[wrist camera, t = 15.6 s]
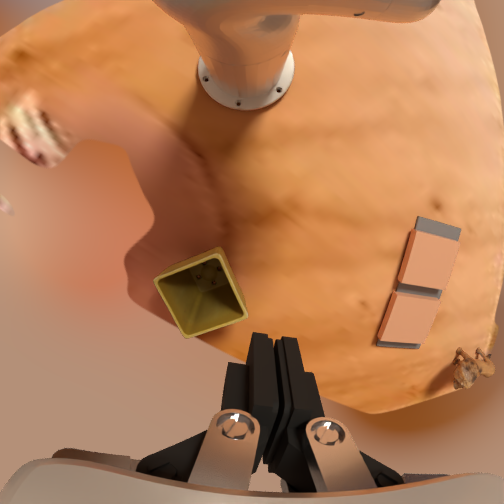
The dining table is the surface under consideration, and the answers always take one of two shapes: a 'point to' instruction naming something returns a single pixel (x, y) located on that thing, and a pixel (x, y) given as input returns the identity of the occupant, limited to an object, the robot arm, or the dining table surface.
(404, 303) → the tile
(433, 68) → the dining table surface
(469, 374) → the lion figurine
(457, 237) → the felt mat
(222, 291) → the flower pot
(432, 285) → the tile
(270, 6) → the robot arm
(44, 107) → the dining table surface
